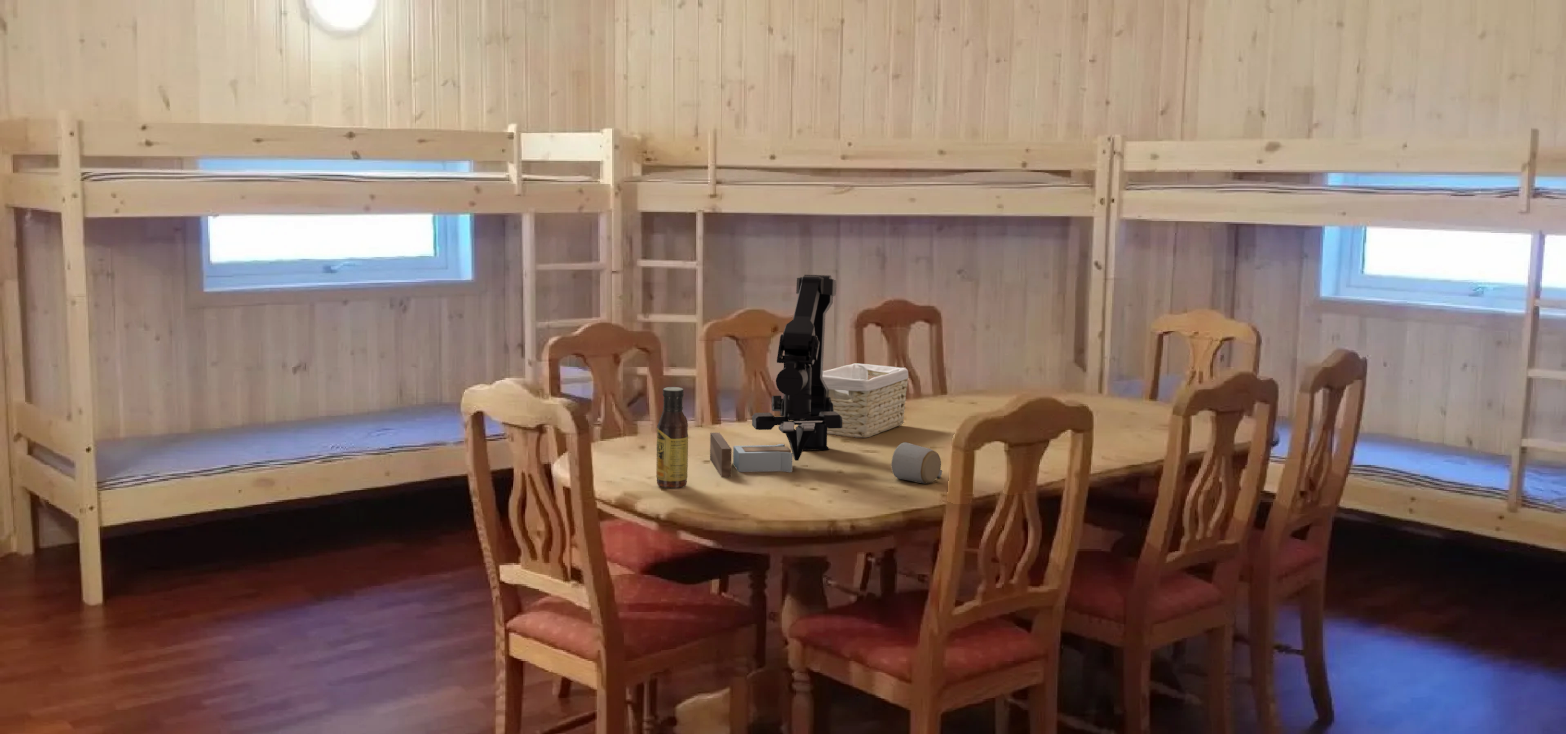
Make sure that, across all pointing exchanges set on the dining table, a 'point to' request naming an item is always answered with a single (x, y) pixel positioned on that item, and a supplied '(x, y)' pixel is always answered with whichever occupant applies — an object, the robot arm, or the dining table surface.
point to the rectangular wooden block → (766, 449)
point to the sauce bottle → (672, 441)
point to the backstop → (720, 454)
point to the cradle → (762, 460)
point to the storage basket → (867, 398)
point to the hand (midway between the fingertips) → (796, 460)
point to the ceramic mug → (916, 463)
